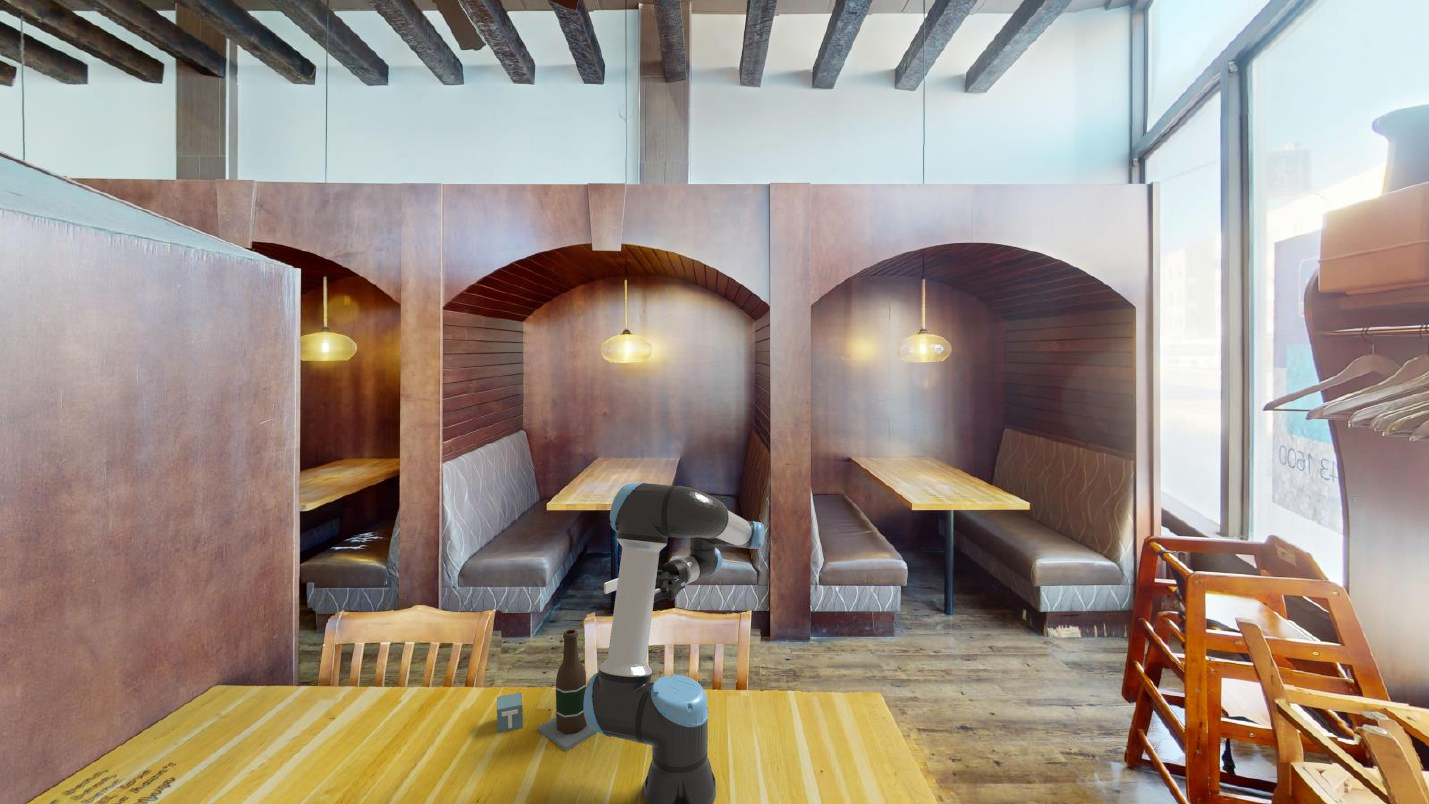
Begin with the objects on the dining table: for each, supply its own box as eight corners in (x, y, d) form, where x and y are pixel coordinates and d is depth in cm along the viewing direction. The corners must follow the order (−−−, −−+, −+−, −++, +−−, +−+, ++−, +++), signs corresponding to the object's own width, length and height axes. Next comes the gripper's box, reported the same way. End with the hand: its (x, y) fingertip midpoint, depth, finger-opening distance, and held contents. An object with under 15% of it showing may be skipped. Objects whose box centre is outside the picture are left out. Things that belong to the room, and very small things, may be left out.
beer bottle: (579, 737, 142) (578, 640, 141) (550, 733, 144) (548, 637, 142) (592, 718, 150) (591, 626, 148) (564, 714, 151) (562, 623, 150)
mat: (606, 726, 147) (606, 723, 147) (566, 750, 138) (566, 747, 138) (576, 708, 155) (576, 705, 155) (537, 730, 146) (536, 727, 146)
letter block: (497, 719, 151) (496, 696, 150) (522, 714, 153) (521, 692, 152) (497, 733, 145) (496, 710, 144) (523, 728, 147) (522, 705, 147)
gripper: (713, 596, 158) (657, 623, 142) (648, 575, 174) (591, 597, 158) (713, 569, 158) (656, 592, 142) (648, 550, 174) (591, 569, 158)
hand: (622, 595), depth 150 cm, fingers open, 13 cm apart
